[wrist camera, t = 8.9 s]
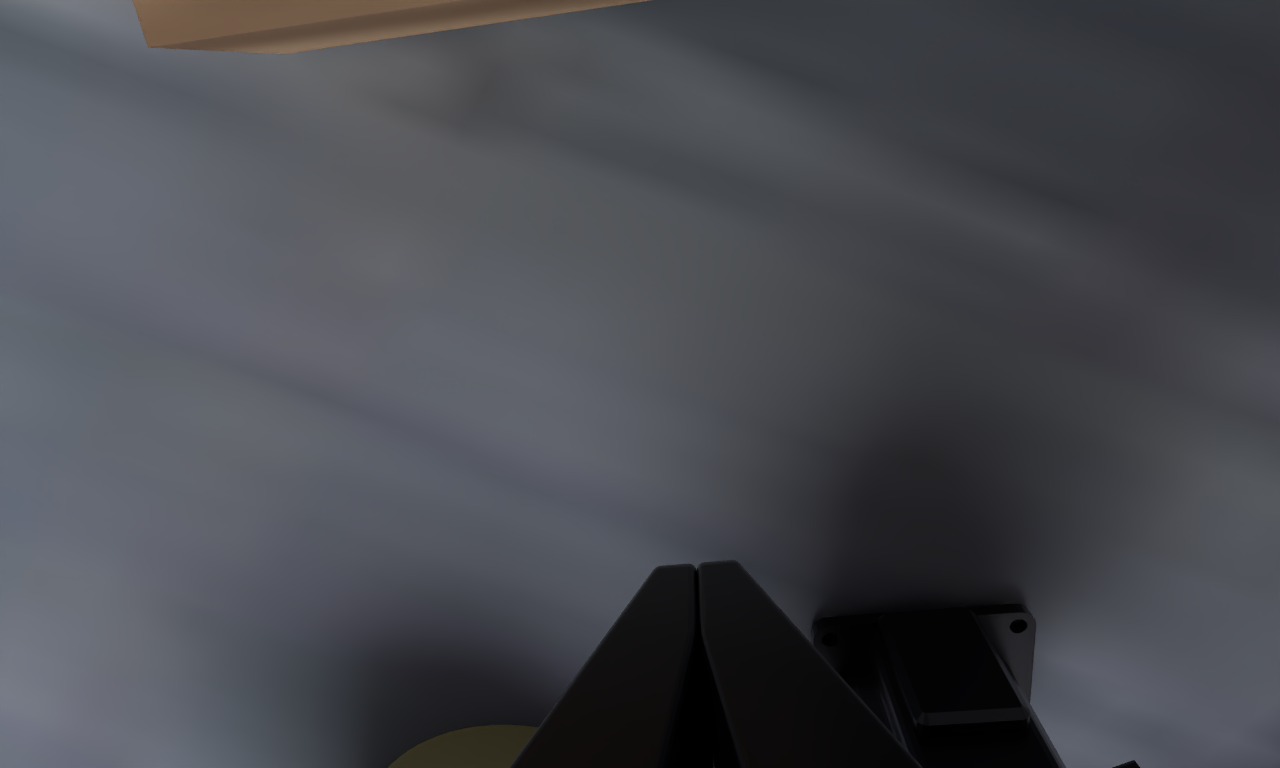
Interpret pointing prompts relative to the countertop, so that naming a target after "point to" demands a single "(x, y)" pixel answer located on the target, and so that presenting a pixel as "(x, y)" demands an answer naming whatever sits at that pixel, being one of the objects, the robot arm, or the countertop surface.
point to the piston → (469, 748)
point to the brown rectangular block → (325, 20)
